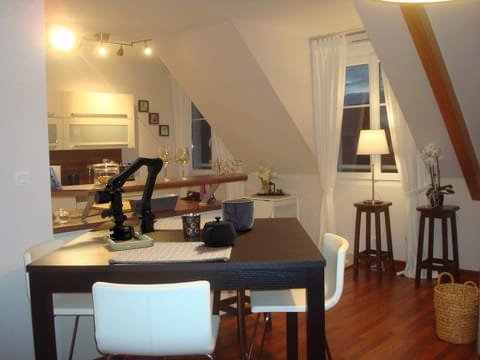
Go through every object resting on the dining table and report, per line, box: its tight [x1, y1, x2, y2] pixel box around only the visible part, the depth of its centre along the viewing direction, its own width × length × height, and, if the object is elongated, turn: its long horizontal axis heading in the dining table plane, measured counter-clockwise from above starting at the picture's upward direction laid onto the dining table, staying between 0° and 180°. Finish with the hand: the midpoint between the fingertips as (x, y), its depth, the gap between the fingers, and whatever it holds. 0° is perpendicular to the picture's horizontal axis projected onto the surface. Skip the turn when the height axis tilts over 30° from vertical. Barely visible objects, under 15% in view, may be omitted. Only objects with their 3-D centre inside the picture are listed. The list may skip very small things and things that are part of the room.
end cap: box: [109, 224, 136, 242], centre depth 230 cm, size 10×7×7 cm
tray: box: [107, 234, 155, 252], centre depth 215 cm, size 17×16×3 cm
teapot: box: [200, 216, 238, 248], centre depth 209 cm, size 25×16×12 cm, turn 156°
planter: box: [221, 198, 255, 232], centre depth 244 cm, size 17×17×15 cm
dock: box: [102, 231, 143, 244], centre depth 230 cm, size 16×10×3 cm, turn 116°
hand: (118, 233), depth 239 cm, fingers closed
